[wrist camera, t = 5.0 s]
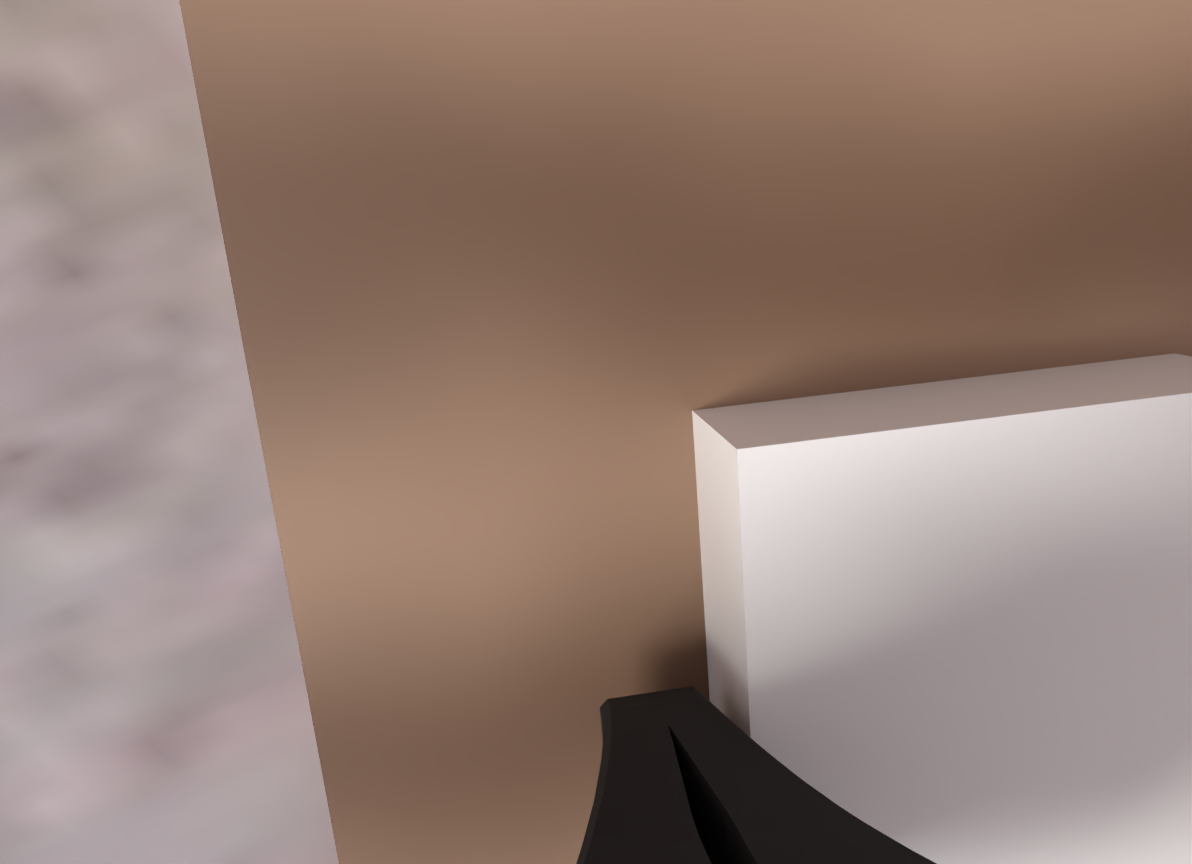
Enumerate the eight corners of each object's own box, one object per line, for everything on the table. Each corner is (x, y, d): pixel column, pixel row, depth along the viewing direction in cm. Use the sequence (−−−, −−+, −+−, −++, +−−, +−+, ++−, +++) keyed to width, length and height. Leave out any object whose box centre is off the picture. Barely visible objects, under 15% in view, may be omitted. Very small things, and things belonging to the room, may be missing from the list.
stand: (1034, 940, 19) (1171, 1117, 16) (430, 1054, 18) (416, 1281, 14) (1097, 5, 14) (1323, -75, 11) (266, 51, 13) (175, -24, 9)
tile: (1127, 879, 14) (1231, 984, 12) (724, 957, 13) (766, 1082, 11) (1174, 353, 12) (1310, 377, 10) (692, 410, 11) (736, 449, 9)
